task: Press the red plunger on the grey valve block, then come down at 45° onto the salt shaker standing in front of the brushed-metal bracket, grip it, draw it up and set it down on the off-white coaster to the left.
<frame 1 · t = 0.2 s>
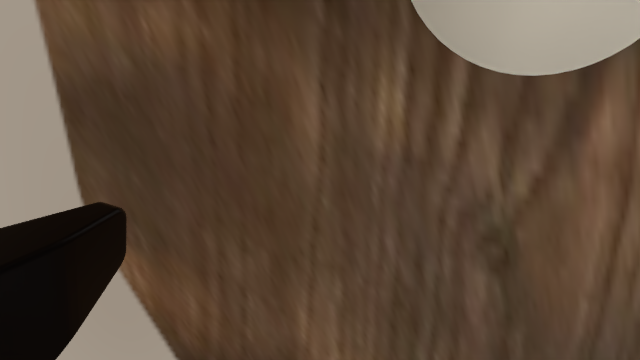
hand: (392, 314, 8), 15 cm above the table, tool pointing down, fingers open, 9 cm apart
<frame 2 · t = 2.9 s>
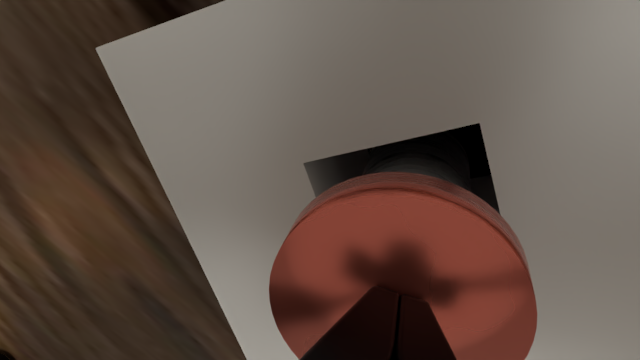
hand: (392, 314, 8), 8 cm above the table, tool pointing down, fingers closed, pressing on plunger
valve block: (423, 132, 15), on the table
plunger: (408, 225, 10), point 5 cm above the table, slide at 0.0 cm, touching gripper
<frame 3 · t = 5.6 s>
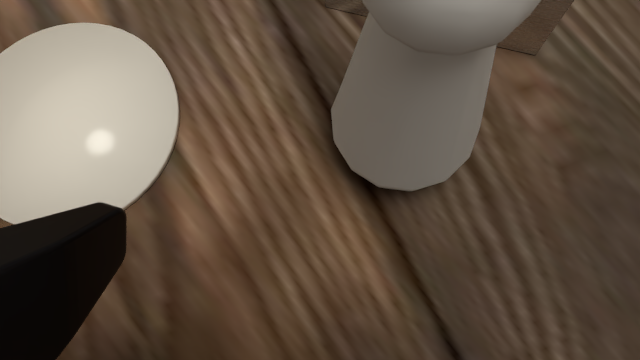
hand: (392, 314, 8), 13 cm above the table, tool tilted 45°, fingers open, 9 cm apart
salt shaker: (396, 142, 23), on the table
bracket: (431, 17, 24), on the table
coaster: (71, 123, 23), on the table
when the fingers open (7 cm above the table, at t = 12.2 s): salt shaker stays where it is, resting on coaster.
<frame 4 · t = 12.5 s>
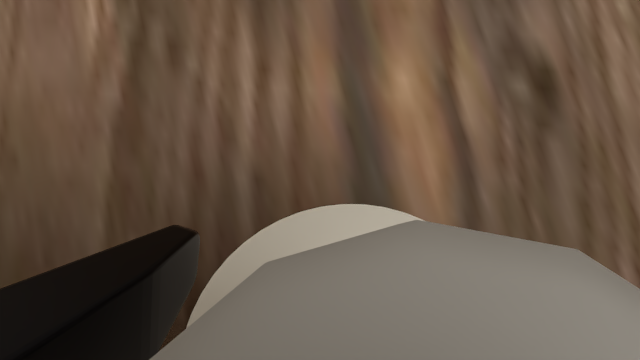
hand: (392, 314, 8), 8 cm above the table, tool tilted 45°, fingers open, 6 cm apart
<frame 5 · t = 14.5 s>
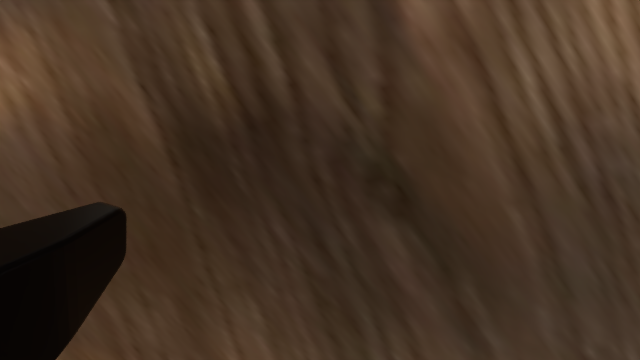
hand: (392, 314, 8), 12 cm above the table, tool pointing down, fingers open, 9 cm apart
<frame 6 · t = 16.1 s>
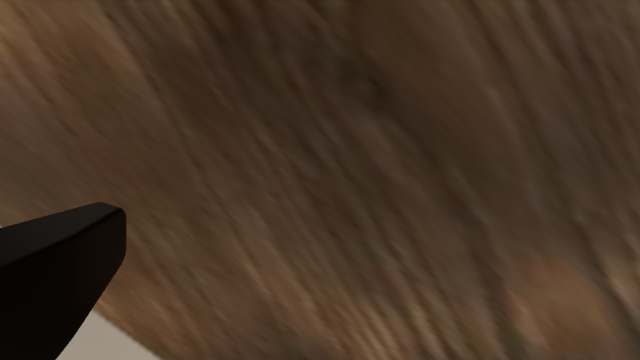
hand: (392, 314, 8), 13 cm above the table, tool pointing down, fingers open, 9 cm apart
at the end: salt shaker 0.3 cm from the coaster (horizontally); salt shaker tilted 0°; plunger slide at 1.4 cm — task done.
